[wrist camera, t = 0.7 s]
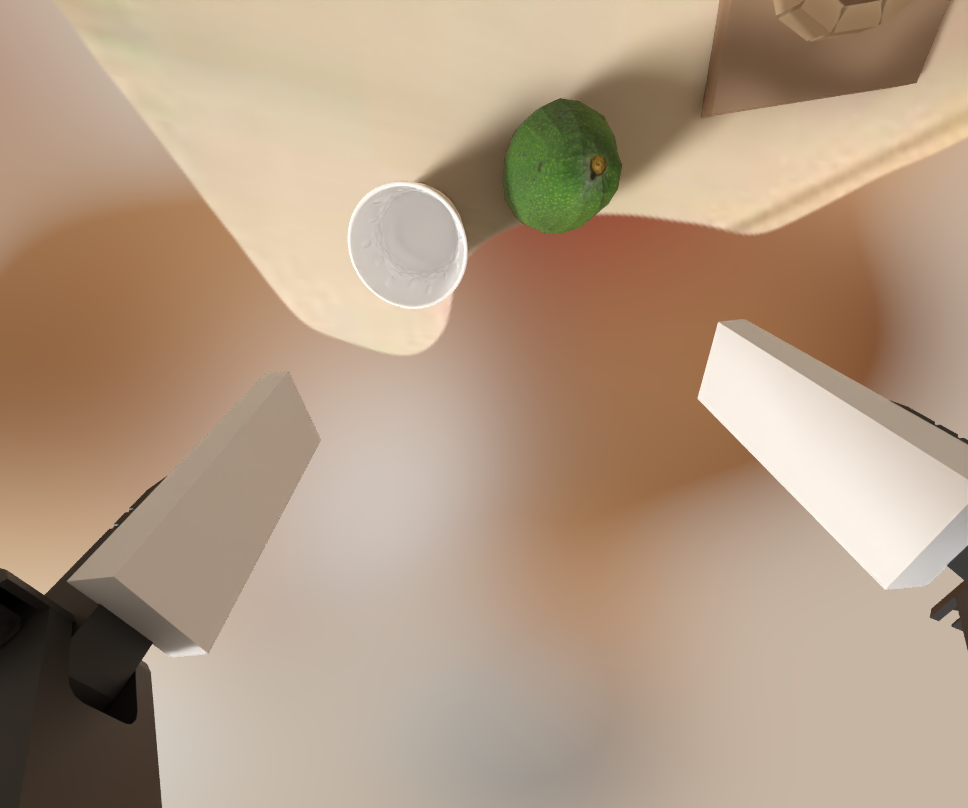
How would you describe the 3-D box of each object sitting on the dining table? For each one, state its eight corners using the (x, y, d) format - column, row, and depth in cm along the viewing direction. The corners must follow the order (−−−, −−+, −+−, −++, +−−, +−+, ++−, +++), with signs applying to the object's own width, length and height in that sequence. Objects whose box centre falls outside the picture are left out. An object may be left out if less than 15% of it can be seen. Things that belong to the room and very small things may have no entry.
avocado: (590, 217, 32) (645, 239, 22) (503, 229, 33) (518, 257, 23) (593, 102, 28) (664, 66, 18) (493, 118, 28) (506, 91, 18)
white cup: (448, 288, 35) (442, 325, 27) (368, 252, 33) (335, 280, 25) (482, 205, 31) (487, 218, 23) (394, 158, 29) (365, 155, 21)
